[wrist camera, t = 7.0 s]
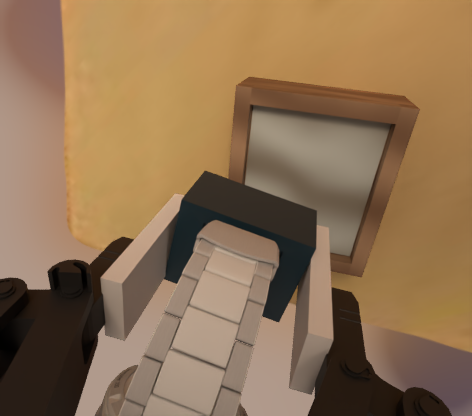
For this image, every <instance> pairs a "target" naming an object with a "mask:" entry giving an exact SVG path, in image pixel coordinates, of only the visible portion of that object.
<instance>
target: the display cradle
mask: <svg viewBox="0 0 472 416" xmlns="http://www.w3.org/2000/svg"><path fill="white" fill-rule="evenodd" d="M419 110H420V109H419V108H417V107H416V106H415V105H414V104H413V103H412V102H411V101H409V100H408V99H407V98H406V97H405V96H399V95H391V94H383V93H375V92H367V91H359V90H351V89H343V88H335V87H326V86H318V85H310V84H302V83H294V82H286V81H278V80H270V79H262V78H254V77H248V78H247V79H245V80H244V81H242V82H241V83H239V84H238V85H236V92H235V105H234V117H233V130H232V142H231V154H230V167H229V179H230V180H233V181H236V182H238V183H241V184H244V185H247V186H250V187H252V188H255V189H258V190H261V191H264V192H266V193H269V194H272V195H275V196H277V197H280V198H283V199H286V200H289V201H291V202H294V203H297V204H300V205H303V206H305V207H308V208H311V209H314V210H317V225H319V226H324V227H328V228H329V245H330V269H331V271H334V272H338V273H343V274H348V275H353V276H358V277H362V275H363V272H364V269H365V266H366V263H367V260H368V258H369V255H370V252H371V249H372V246H373V243H374V240H375V237H376V234H377V232H378V229H379V226H380V223H381V220H382V217H383V214H384V211H385V209H386V206H387V203H388V200H389V197H390V194H391V191H392V188H393V185H394V183H395V180H396V177H397V174H398V171H399V168H400V165H401V162H402V160H403V157H404V154H405V151H406V148H407V145H408V142H409V139H410V136H411V134H412V131H413V128H414V125H415V122H416V119H417V116H418V113H419Z"/></svg>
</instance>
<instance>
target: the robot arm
mask: <svg viewBox="0 0 472 416" xmlns="http://www.w3.org/2000/svg"><path fill="white" fill-rule="evenodd" d="M184 196H185V195H181V194H176V193H175V194H174V196H173V197H172V198H171V199H170V200H169V201H168V202H167V203H166V205H165V206H164V207H163V208H162V209H161V210H160V211H159V212H158V214H157V215H156V216H155V217H154V218H153V219H152V220H151V221H150V223H149V224H148V225H147V226H146V227H145V228H144V229H143V230H142V232H141V233H140V234H139V235H138V236H137V237H136V238H135V239H130V238H126V237H121V238H119V239H117V240H115V241H113V242H112V243H111V244H110V245H109V246H108V247H107V248H106V249H105V250H104V251H103V252H102V253H101V254H100V255H99V256H98V257H97V258H96V259H95V260H94V261H93V262H92V263H91V264H90V265H89V264H88V263H86V262H84V261H80V260H66V261H63V262H59V263H58V264H56V265H54V266H52V267H51V269H49V270H48V277H49V282H50V288H51V289H50V290H28V288H27V284H26V283H25V282H24V281H23V280H21V279H18V278H5V279H0V416H75V413H76V410H77V407H78V404H79V400H80V397H81V394H82V391H83V388H84V385H85V382H86V379H87V375H88V372H89V369H90V366H91V363H92V360H93V357H94V353H95V350H96V347H97V343H98V333H99V331H100V330H101V328H102V327H103V326H105V335H106V336H110V337H114V338H117V339H120V340H124V341H125V339H126V338H127V336H128V335H129V333H130V331H131V330H132V328H133V327H134V325H135V323H136V322H137V320H138V319H139V317H140V315H141V314H142V312H143V311H144V309H145V308H146V306H147V304H148V303H149V301H150V300H151V298H152V297H153V295H154V293H155V291H156V290H157V288H158V287H159V285H160V284H161V282H162V280H163V279H164V277H165V274H166V267H167V262H168V258H169V253H170V249H171V245H172V240H173V236H174V231H175V227H176V222H177V218H178V213H179V209H180V204H181V200H182V198H183V197H184ZM314 387H315V399H314V402H313V404H312V406H311V409H310V411H309V414H308V416H452V415H451V413H450V411H449V409H448V408H447V406H446V405H445V404H444V403H443V401H442V400H440V399H439V398H438V397H437V396H435V395H434V394H433V393H431V392H429V391H427V390H425V389H423V388H416V387H413V388H409V389H407V390H406V391H405V392H403V391H401V390H399V389H397V388H395V387H393V386H392V385H390V384H388V383H387V382H385V381H383V380H382V379H381V378H380V377H379V376H378V375H376V374H375V372H374V370H373V368H372V365H371V364H370V363H369V362H368V360H367V359H366V355H365V347H364V340H363V333H362V326H361V319H360V311H359V304H358V302H357V300H356V298H355V297H354V295H353V294H352V292H348V291H344V290H340V289H336V288H332V287H331V269H330V245H329V228H328V227H324V226H319V225H317V238H316V250H315V252H314V254H313V256H312V258H311V260H310V262H309V264H308V266H307V268H306V270H305V272H304V274H303V276H302V278H301V280H300V282H299V284H298V293H297V304H296V316H295V327H294V338H293V350H292V361H291V372H290V384H289V388H290V389H294V390H297V391H301V392H304V393H308V394H312V392H313V390H314Z"/></svg>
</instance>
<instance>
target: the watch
mask: <svg viewBox="0 0 472 416" xmlns="http://www.w3.org/2000/svg"><path fill="white" fill-rule="evenodd" d="M316 238H317V210H314V209H311V208H308V207H305V206H303V205H300V204H297V203H294V202H291V201H289V200H286V199H283V198H280V197H277V196H275V195H272V194H269V193H266V192H264V191H261V190H258V189H255V188H252V187H250V186H247V185H244V184H241V183H238V182H236V181H233V180H230V179H227V178H224V177H222V176H219V175H216V174H213V173H210V172H208V171H204V173H203V174H202V175H201V176H200V178H199V179H198V180H197V181H196V182H195V184H194V185H193V186H192V187H191V189H190V190H189V191H188V192H187V194H186V195H185V196H184V197H183V198H182V200H181V204H180V209H179V213H178V218H177V222H176V227H175V231H174V236H173V240H172V245H171V249H170V253H169V258H168V262H167V267H166V274H165V277H164V279H166V280H168V281H171V282H173V283H176V284H177V285H176V287H175V289H174V291H173V293H172V295H171V298H170V300H169V302H168V304H167V306H166V308H165V312H166V313H168V314H170V315H168V314H166V313H163V315H162V317H161V318H160V321H159V323H158V325H157V327H156V329H155V331H154V333H153V335H152V337H151V340H150V342H149V344H148V346H147V349H146V351H145V355H144V356H143V357H142V358H141V360H140V363H139V365H134V366H132V367H129V368H127V369H126V370H124V371H122V372H121V373H120V374H119V375H118V376H117V377H116V378H115V379H114V380H113V381H112V382H111V384H110V385H109V387H108V389H107V391H106V394H105V396H104V399H103V402H102V404H101V406H100V407H99V408H98V410H97V412H96V414H95V416H248V415H247V413H246V411H245V409H244V408H243V407H242V406H241V404H240V399H241V392H242V390H243V386H244V382H245V379H246V375H247V372H248V368H249V364H250V360H251V357H252V353H253V347H251V346H254V345H255V342H256V338H257V334H258V330H259V326H260V322H261V318H262V316H263V317H266V318H268V319H271V320H274V321H276V322H279V321H280V319H281V317H282V315H283V313H284V311H285V309H286V307H287V305H288V303H289V301H290V299H291V297H292V295H293V293H294V291H295V289H296V287H297V285H298V284H299V282H300V280H301V278H302V276H303V274H304V272H305V270H306V268H307V266H308V264H309V262H310V260H311V258H312V256H313V254H314V252H315V250H316ZM171 315H173V316H175V317H173V316H171ZM176 317H178V318H176ZM179 318H181V319H182V321H181V320H180V319H179ZM180 322H181V323H180ZM235 339H236V340H238V341H240V342H238V341H236V342H235V343H234V341H235ZM173 340H174V341H173ZM241 342H243V343H246V344H248V345H246V344H243V343H241ZM233 344H234V346H233ZM171 345H172V346H171ZM249 345H251V346H249ZM171 347H172V348H173V349H170V348H171ZM232 348H233V349H232ZM231 351H232V352H231ZM228 360H229V361H228Z"/></svg>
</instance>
